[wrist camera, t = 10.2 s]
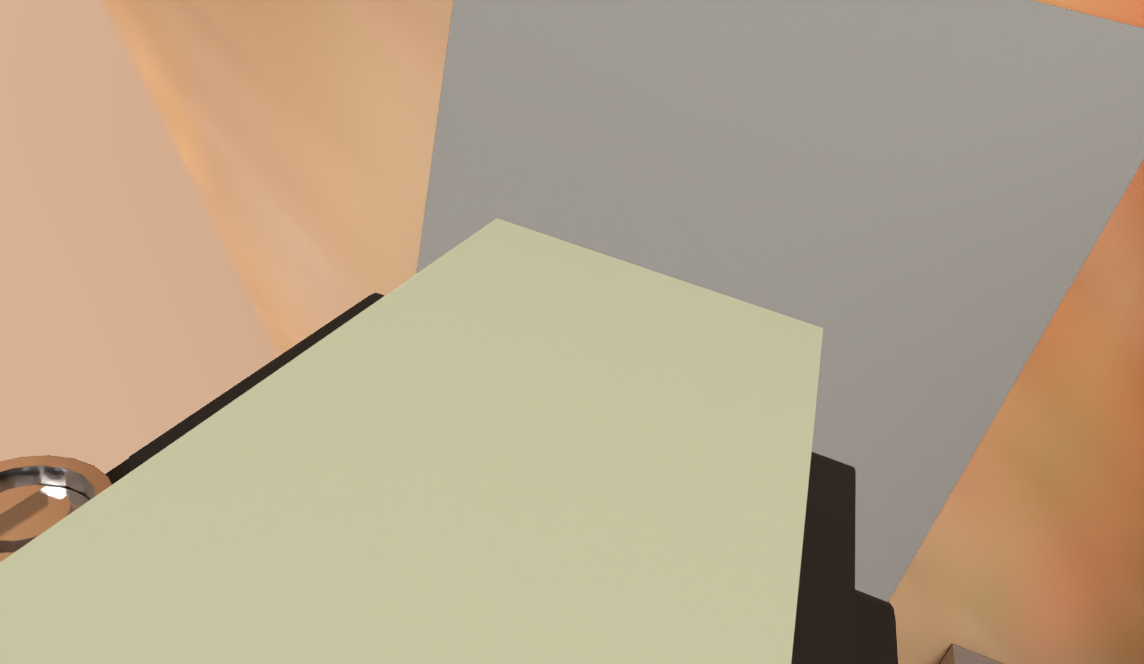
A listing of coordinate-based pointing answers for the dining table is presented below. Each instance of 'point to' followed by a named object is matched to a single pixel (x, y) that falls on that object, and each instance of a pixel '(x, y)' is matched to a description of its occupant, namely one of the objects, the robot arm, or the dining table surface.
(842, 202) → the mat
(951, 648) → the grey square frame
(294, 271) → the dining table surface
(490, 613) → the green box
